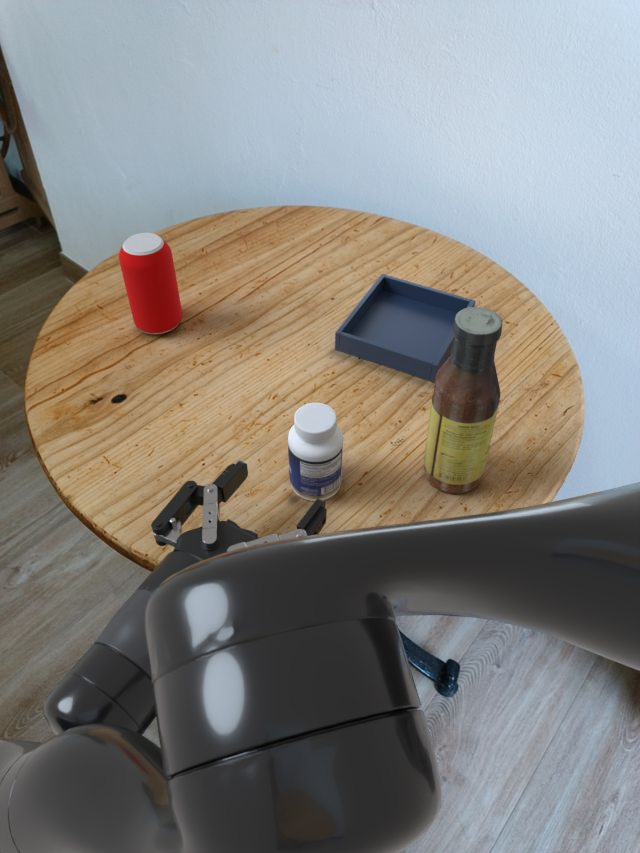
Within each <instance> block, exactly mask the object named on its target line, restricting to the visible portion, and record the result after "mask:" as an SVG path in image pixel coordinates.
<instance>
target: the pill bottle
mask: <svg viewBox="0 0 640 853" xmlns="http://www.w3.org/2000/svg"><path fill="white" fill-rule="evenodd" d="M337 419H338V418H337V413H336V411H335V410H334V408H332V407H331V406H330V405H328V404H326V403H323V402H309V403H305V404H303V405H301V406H300V407H299V408H297V410H296V411H295V413H294V417H293V425H292V426H291V428H290V429H289V431H288V434H287V451H288V452H287V454H288V474H289V484H290V487H291V489H292V491H293V492H294V494H296V496H298V497H299V498H301V499H302V500H305V501H311V502H315V501H316V499H320V500H323V501H326V500H328V499H330V498H332V497H334V496H335V495H336V494H337V493H338V491H340V488H341V485H342V481H343V480H342V479H343V456H344V454H343V453H344V435H343V431H342V429H341V428H340V426H339V425H338V423H337V422H338V420H337Z"/></svg>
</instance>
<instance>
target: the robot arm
mask: <svg viewBox="0 0 640 853" xmlns="http://www.w3.org/2000/svg"><path fill="white" fill-rule="evenodd" d="M248 476H249V469H248V463H246V462H244V461H242V460H238V461H237V462H236V463H231V464H229V465H227V466H226V468H225V469H224V470H223V471H222V472H221V473H220V474H219V475H218V477H217V478H216V479H215V480H214V481H213V482H212V483H208V484H206V485H200V484H198V483H197V482H196V481H195V480H187V481H185V483H183V485H182V486H181V487H180V489H178V490H177V492H176V493H175V494H174V495H173V497H172V498H171V499H170V500H169V502H168V503H167V504H166V505H165V506H164V507H163V508H162V510H161V511H160V512H159V513H158V515H157V516H156V517H155V518H154V519H153V520H152V522H151V524H150V527H151V531H152V534H153V535H152V536H153V537H154V538H153V539H154V540H155V543H156V545H158V546H159V547H165V546H167V545H169V546H171V547H172V548H174V549H173V551H170V552H169V553H167V554H166V555H165V556H164V557H163V559H161V561H160V562H159V563H158V564H157V565H156V567H155V568H154V569H153V570H152V571H151V573H150V574H148V576H147V577H146V578H145V579H144V580H143V581H142V582H141V583H140V585H139V586H138V587H137V588H136V589H135V590H134V592H133V593H132V594H131V595H130V596H129V597H128V598H127V599H126V601H125V602H124V603H123V604H122V605H121V606H120V608H118V610H117V611H116V612H115V613H114V615H113V616H112V617H111V619H109V621H108V622H107V624H106V625H105V627H104V628H103V630H102V632H101V633H100V635H98V637H97V639H96V640H95V641H94V642H93V644H91V646H90V647H89V648H88V649H87V650H86V652H84V654H83V655H82V656H81V658H79V660H78V661H77V662H76V663H75V664H74V665H73V666H72V668H71V669H70V670H69V671H68V672H67V673H66V674H65V675H64V676H63V678H61V680H60V681H59V682H58V683H57V684H56V685H55V687H54V688H52V690H51V692H50V693H49V695H48V696H47V698H46V699H45V701H44V704H43V709H42V714H43V717H44V719H45V721H46V723H47V724H48V726H49V728H50V730H52V733H53V734H54V736H52V737H50V738H49V739H47V740H44V741H43V742H40V741H32V740H20V739H0V853H401V852H403V851H405V850H406V849H407V848H410V846H412V845H413V844H415V843H417V841H419V840H420V839H421V838H422V837H423V836H424V835H425V834H426V833H427V832H428V830H430V828H431V827H432V826H433V825H434V823H435V821H436V819H437V818H438V816H439V814H440V810H441V806H442V786H441V785H442V784H441V778H440V772H439V768H438V767H439V766H438V762H437V757H436V752H435V748H434V744H433V740H432V736H431V733H430V729H429V726H428V722H427V718H426V714H425V712H424V710H423V709H420V708H421V707H422V702H421V699H420V696H419V692H418V689H417V685H416V682H415V679H414V676H413V673H412V669H411V665H410V663H409V659H408V656H407V652H406V649H405V647H404V643H403V642H404V641H403V639H402V636H401V633H400V629H399V626H398V624H397V623H396V622H397V620H396V617H403V616H404V617H406V616H407V617H408V616H409V617H410V616H411V617H412V616H444V617H445V616H447V617H458V618H459V617H460V618H474V619H481V620H487V621H493V622H498V623H503V624H508V625H510V626H511V625H512V626H516V627H519V628H523V629H526V630H531V631H534V632H537V633H540V634H543V635H546V636H549V637H552V638H554V639H557V640H560V641H563V642H565V643H568V644H570V645H573V646H575V647H578V648H580V649H581V650H584V651H588V652H590V653H592V654H595V655H598V656H600V657H603V658H605V659H608V660H610V661H613V662H616V663H618V664H620V665H623V666H625V667H628V668H631V669H634V670H636V671H639V672H640V481H637V482H633V483H630V484H626V485H625V484H624V485H621V486H617V487H614V488H610V489H604V490H601V491H600V490H599V491H596V492H591V493H586V494H583V495H578V496H577V495H576V496H572V497H569V498H564V499H559V500H555V501H550V502H545V503H540V504H535V505H529V506H524V507H518V508H517V507H516V508H512V509H505V510H499V511H490V512H484V513H477V514H469V515H461V516H453V517H445V518H436V519H428V520H427V519H426V520H419V521H410V522H402V523H395V524H387V525H379V526H370V527H362V528H353V529H347V530H337V531H331V532H324V533H320V532H321V531H322V529H323V528H324V527H325V525H326V524H327V518H328V516H327V514H328V510H327V508H326V500H320V499H316V501H313V503H312V504H311V506H310V507H309V508H308V510H307V511H306V513H305V514H304V515H303V516H302V518H301V519H300V520H299V521H298V523H297V524H296V529H294V530H291V531H289V532H285V533H282V534H278V533H272V534H268V535H265V536H262V537H259V534H258V533H256V532H254V531H253V530H250V529H247V528H242V527H241V526H240V525H239V524H238V523H236V521H233V520H231V519H229V518H227V519H226V520H221V503H225V504H226V503H227V502H228V501H229V499H231V497H232V496H233V495H234V494H235V493H236V492H237V490H238V489H239V488H240V487H241V486H242V484H243V483H244V482H245V481H246V480H247V478H248ZM199 506H202V525H201V526H198V527H196V528H193V529H190V530H188V531H184V532H183V526H184V524H185V523H186V522H187V521H188V519H189V518H190V517H191V516H192V514H193V513H194V512H195V510H196V509H197V508H198V507H199ZM155 719H156V725H157V726H156V727H157V732H158V733H157V734H158V739H159V746H158V745H157V743H155V742H153V741H152V740H150V739H149V738H147V737H146V736H144V734H145V733H146V731H147V729H148V728H149V727H150V726H151V724H153V722H154V720H155Z"/></svg>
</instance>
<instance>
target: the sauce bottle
mask: <svg viewBox="0 0 640 853" xmlns="http://www.w3.org/2000/svg"><path fill="white" fill-rule="evenodd" d="M502 330H503V320H502V317H500V315H499V314H498V312H496V311H494V310H492V309H491V308H487V307H481V306H475V307H468V308H465V309H462V310H461V311H459V312H458V313H457V314H456V316H455V320H454V325H453V333H454V341H453V348H452V350H451V352H450V353H451V355H450V357H449V358H448V359H447V360H446V362H445V363H444V364H443V365H442V367H441V368H440V369H439V370H438V372H437V375H436V378H435V382H433V387H434V388H433V391H432V392H433V393H432V395H431V399H430V400H431V401H430V408H429V416H428V417H429V418H428V425H427V433H426V438H425V448H424V457H423V463H424V464H423V471H424V474H425V477H426V478H427V480H428V482H430V484H431V485H432V486H433V487H434V488H435V489H437V490H439V491H442V492H445V493H448V494H454V495H457V494H464V493H467V492H470V491H471V490H473V489H475V488H476V487H477V486H478V485H479V483H480V481H481V479H482V478H481V477H482V476H483V474H484V472H485V469H486V465H487V461H488V457H489V451H490V447H491V442H492V438H493V433H494V429H495V423H496V419H497V414H498V410H499V405H500V401H501V389H500V382H499V377H498V372H497V368H496V363H495V355H496V354H495V353H496V349H497V344H498V341H499V340H500V338H501V336H502Z"/></svg>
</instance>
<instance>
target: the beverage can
mask: <svg viewBox="0 0 640 853" xmlns="http://www.w3.org/2000/svg"><path fill="white" fill-rule="evenodd" d="M118 262H119V266H120V270H121V274H122V278H123V282H124V286H125V291H126V296H127V299H128V303H129V307H130V312H131V316H132V320H133V324H134V326H135V327H136V328H137V329H138V330H139V331H141V332H142V333H145V334H149V335H162V334H166V333H168V332H170V331H171V332H172V331H173V330H174V329H175V328H177V327H178V326H179V325H180V324H181V322H182V319H183V309H182V303H181V297H180V291H179V286H178V280H177V273H176V268H175V262H174V257H173V252H172V249H171V246H170V245H169V244H168V243H167V242H166V240H165V239H164V237H162V236H160V235H158V234H156V233H152V232H139V233H136V234H132V235H131V236H129V237H127V238H126V239H125V240H123V242H122V244H121V247H120V249H119V252H118Z"/></svg>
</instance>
